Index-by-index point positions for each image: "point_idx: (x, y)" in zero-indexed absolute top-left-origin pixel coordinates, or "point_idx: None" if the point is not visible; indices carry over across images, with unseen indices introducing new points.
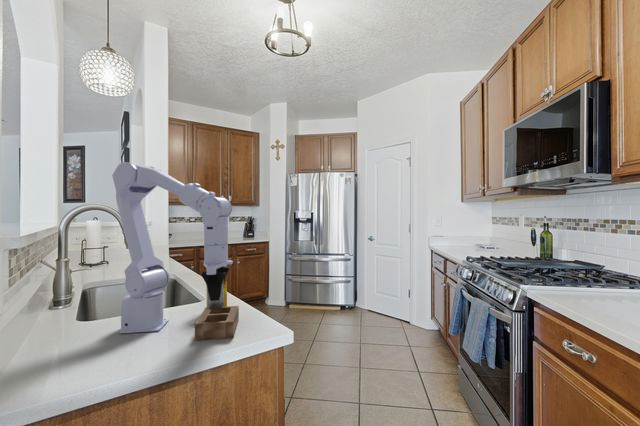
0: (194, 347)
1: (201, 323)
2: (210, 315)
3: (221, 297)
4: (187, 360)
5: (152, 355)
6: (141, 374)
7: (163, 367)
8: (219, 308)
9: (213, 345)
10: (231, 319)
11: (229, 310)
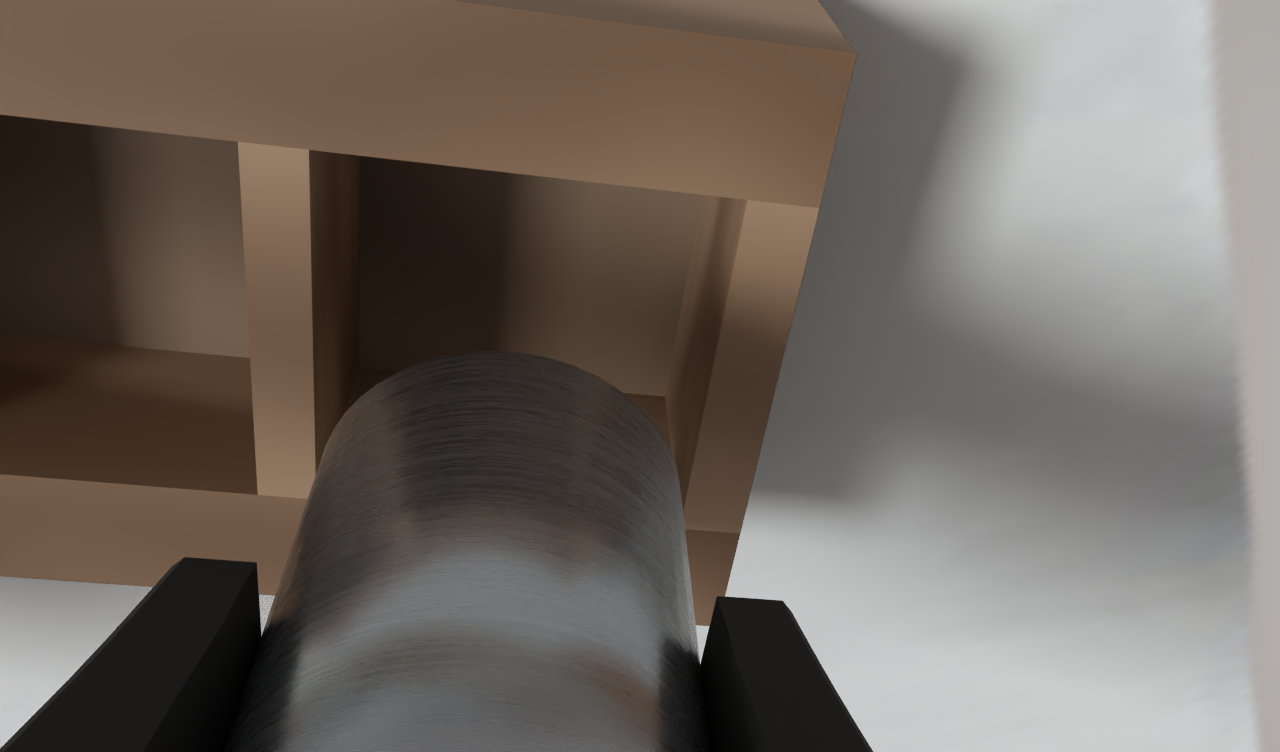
0: (900, 454)
1: (724, 552)
2: (318, 460)
3: (640, 578)
4: (1211, 480)
5: (913, 746)
6: (1254, 742)
7: (1230, 635)
8: (665, 442)
9: (946, 255)
10: (704, 92)
11: None
